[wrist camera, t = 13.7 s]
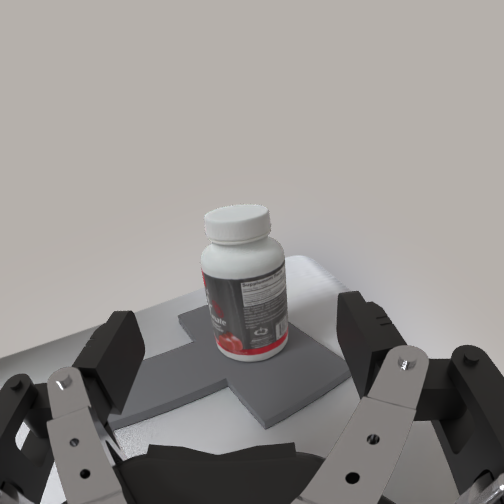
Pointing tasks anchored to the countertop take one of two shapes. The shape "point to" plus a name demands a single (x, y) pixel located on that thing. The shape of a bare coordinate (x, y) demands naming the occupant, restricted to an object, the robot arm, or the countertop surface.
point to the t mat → (232, 376)
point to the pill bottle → (245, 283)
